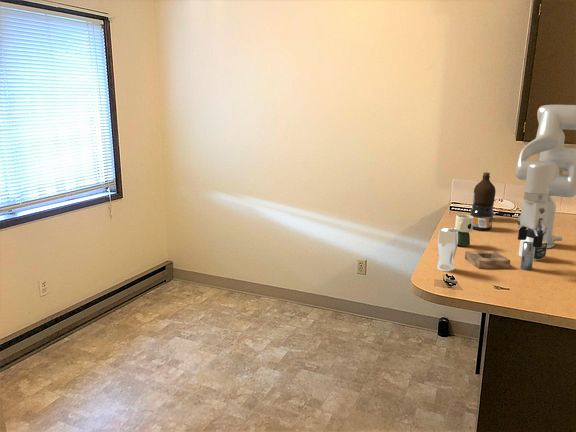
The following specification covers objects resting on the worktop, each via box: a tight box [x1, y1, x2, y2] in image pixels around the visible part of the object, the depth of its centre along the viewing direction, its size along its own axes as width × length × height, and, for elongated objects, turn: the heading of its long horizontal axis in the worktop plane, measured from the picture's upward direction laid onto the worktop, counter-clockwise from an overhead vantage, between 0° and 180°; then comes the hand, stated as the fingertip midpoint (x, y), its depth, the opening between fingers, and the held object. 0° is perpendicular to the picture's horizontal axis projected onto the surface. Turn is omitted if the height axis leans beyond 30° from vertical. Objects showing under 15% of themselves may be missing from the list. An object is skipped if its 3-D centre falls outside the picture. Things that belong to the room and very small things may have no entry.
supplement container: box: [469, 203, 494, 232], centre depth 243 cm, size 10×10×12 cm
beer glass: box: [436, 227, 458, 273], centre depth 182 cm, size 7×7×15 cm
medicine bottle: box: [518, 228, 548, 262], centre depth 198 cm, size 7×7×12 cm
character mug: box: [454, 214, 474, 247], centre depth 213 cm, size 11×7×13 cm, turn 145°
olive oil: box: [472, 171, 497, 212], centre depth 261 cm, size 11×11×25 cm
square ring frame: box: [464, 250, 511, 269], centre depth 191 cm, size 12×12×3 cm
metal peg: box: [519, 241, 535, 271], centre depth 185 cm, size 4×4×10 cm
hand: (529, 243), depth 183 cm, fingers open, 9 cm apart
